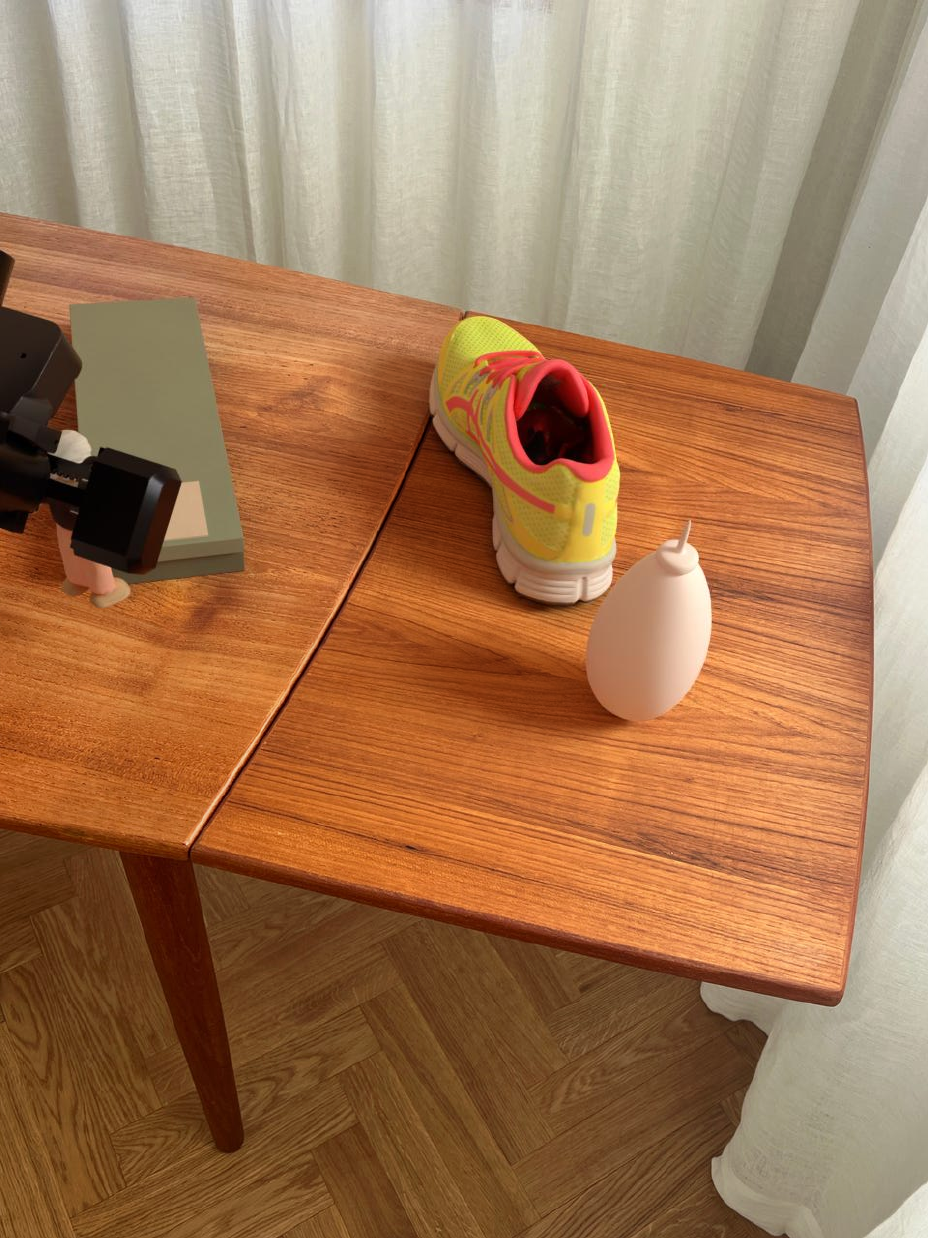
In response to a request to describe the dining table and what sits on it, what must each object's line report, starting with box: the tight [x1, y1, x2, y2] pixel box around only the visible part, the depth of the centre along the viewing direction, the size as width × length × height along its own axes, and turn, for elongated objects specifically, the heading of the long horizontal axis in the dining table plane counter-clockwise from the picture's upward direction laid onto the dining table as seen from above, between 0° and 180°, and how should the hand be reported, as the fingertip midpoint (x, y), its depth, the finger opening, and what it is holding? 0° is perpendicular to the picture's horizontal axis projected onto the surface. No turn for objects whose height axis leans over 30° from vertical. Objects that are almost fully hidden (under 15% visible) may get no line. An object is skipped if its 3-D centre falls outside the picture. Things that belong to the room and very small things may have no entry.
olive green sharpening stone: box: [68, 296, 246, 585], centre depth 92 cm, size 32×11×4 cm, turn 15°
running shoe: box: [428, 315, 621, 606], centre depth 90 cm, size 12×31×14 cm, turn 18°
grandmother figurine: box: [38, 429, 131, 609], centre depth 70 cm, size 8×4×13 cm, turn 74°
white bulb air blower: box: [585, 519, 713, 722], centre depth 73 cm, size 8×8×18 cm
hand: (84, 491), depth 70 cm, fingers closed on grandmother figurine, 6 cm apart
